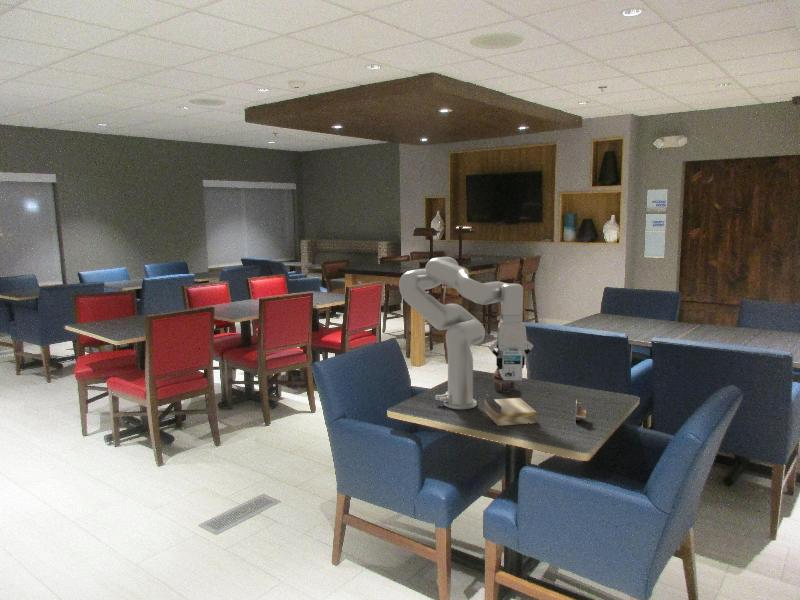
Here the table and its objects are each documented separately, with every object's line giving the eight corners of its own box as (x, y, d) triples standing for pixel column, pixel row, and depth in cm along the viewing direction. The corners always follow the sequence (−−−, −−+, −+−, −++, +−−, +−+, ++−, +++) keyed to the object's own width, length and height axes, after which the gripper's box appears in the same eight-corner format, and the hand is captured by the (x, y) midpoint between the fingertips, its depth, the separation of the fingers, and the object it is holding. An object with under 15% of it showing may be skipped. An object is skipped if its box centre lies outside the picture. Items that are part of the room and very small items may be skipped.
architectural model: (585, 420, 208) (586, 400, 207) (585, 427, 202) (586, 406, 201) (575, 419, 209) (576, 399, 208) (574, 426, 203) (575, 405, 202)
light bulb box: (522, 380, 204) (523, 350, 202) (503, 380, 204) (503, 350, 202) (517, 372, 214) (517, 343, 213) (498, 372, 214) (499, 343, 213)
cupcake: (516, 393, 239) (517, 369, 237) (492, 392, 240) (492, 368, 238) (514, 386, 248) (515, 363, 247) (491, 385, 249) (492, 362, 248)
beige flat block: (497, 425, 202) (498, 407, 201) (483, 410, 218) (484, 393, 217) (536, 423, 204) (536, 405, 203) (519, 408, 220) (520, 391, 219)
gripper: (491, 321, 201) (490, 371, 203) (539, 319, 204) (537, 369, 206) (484, 317, 208) (483, 366, 211) (531, 316, 211) (529, 364, 214)
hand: (510, 367), depth 208 cm, fingers closed on light bulb box, 7 cm apart
